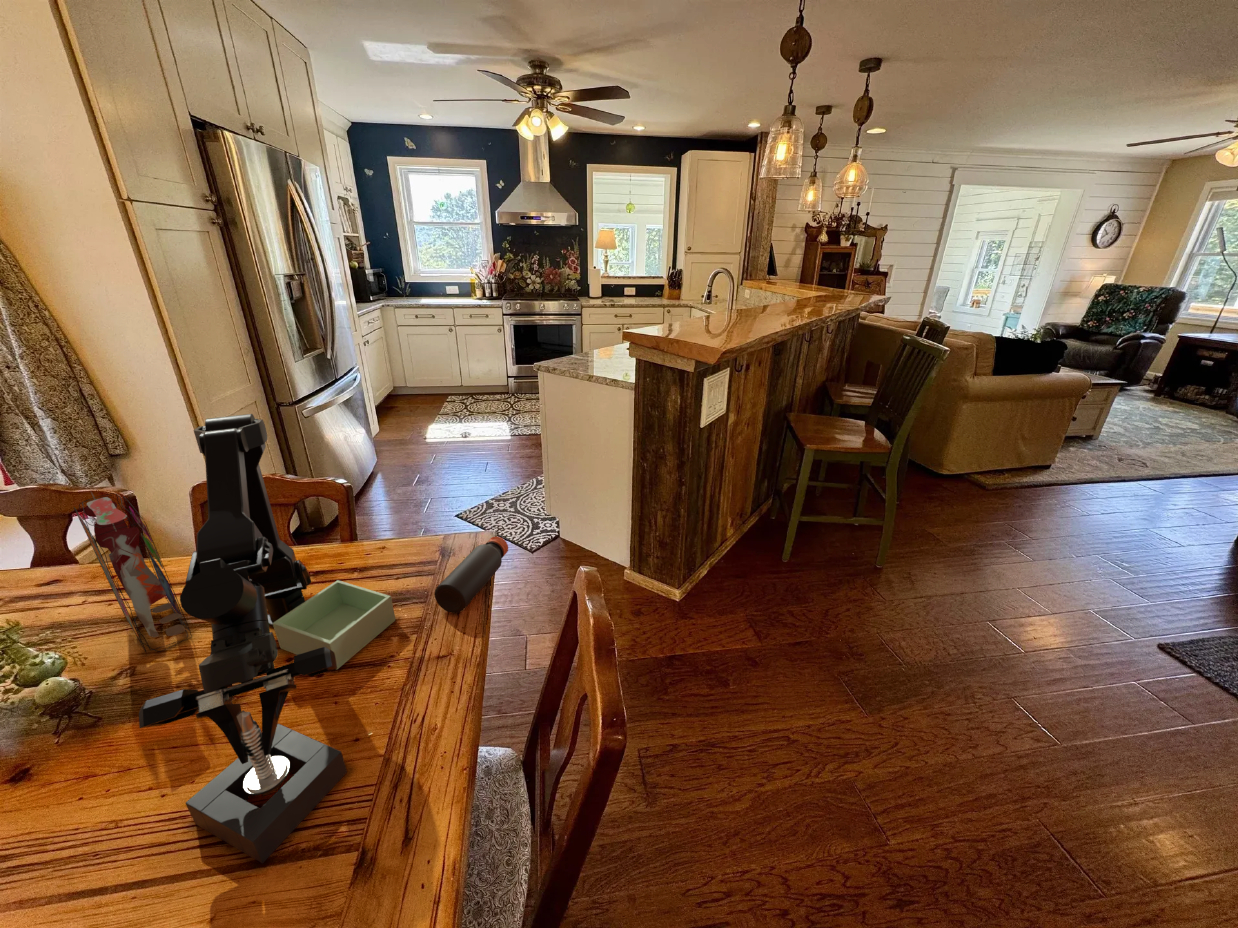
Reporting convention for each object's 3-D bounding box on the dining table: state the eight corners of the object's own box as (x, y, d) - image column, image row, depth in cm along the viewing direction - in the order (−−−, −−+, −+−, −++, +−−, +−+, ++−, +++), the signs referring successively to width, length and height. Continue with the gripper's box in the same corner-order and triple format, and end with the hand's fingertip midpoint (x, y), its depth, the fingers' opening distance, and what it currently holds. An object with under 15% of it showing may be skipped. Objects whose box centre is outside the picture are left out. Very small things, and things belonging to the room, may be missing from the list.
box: (114, 600, 97) (63, 489, 88) (155, 585, 102) (110, 478, 92) (148, 658, 84) (91, 534, 74) (193, 638, 88) (145, 519, 79)
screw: (292, 792, 61) (245, 812, 59) (294, 760, 65) (250, 777, 63) (265, 718, 56) (212, 736, 54) (268, 688, 60) (219, 704, 58)
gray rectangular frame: (195, 824, 60) (184, 802, 58) (285, 743, 70) (278, 722, 68) (262, 863, 56) (252, 841, 54) (347, 771, 66) (341, 751, 64)
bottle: (469, 597, 92) (516, 542, 110) (439, 578, 92) (491, 527, 110) (458, 620, 95) (506, 563, 113) (429, 601, 95) (481, 548, 113)
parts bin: (280, 648, 86) (272, 623, 84) (343, 603, 98) (337, 579, 95) (336, 669, 82) (329, 643, 80) (395, 619, 93) (391, 595, 91)
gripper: (110, 648, 52) (116, 811, 47) (315, 595, 60) (336, 729, 56) (156, 655, 61) (165, 792, 57) (328, 609, 70) (347, 724, 65)
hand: (256, 758), depth 58 cm, fingers closed on screw, 2 cm apart
